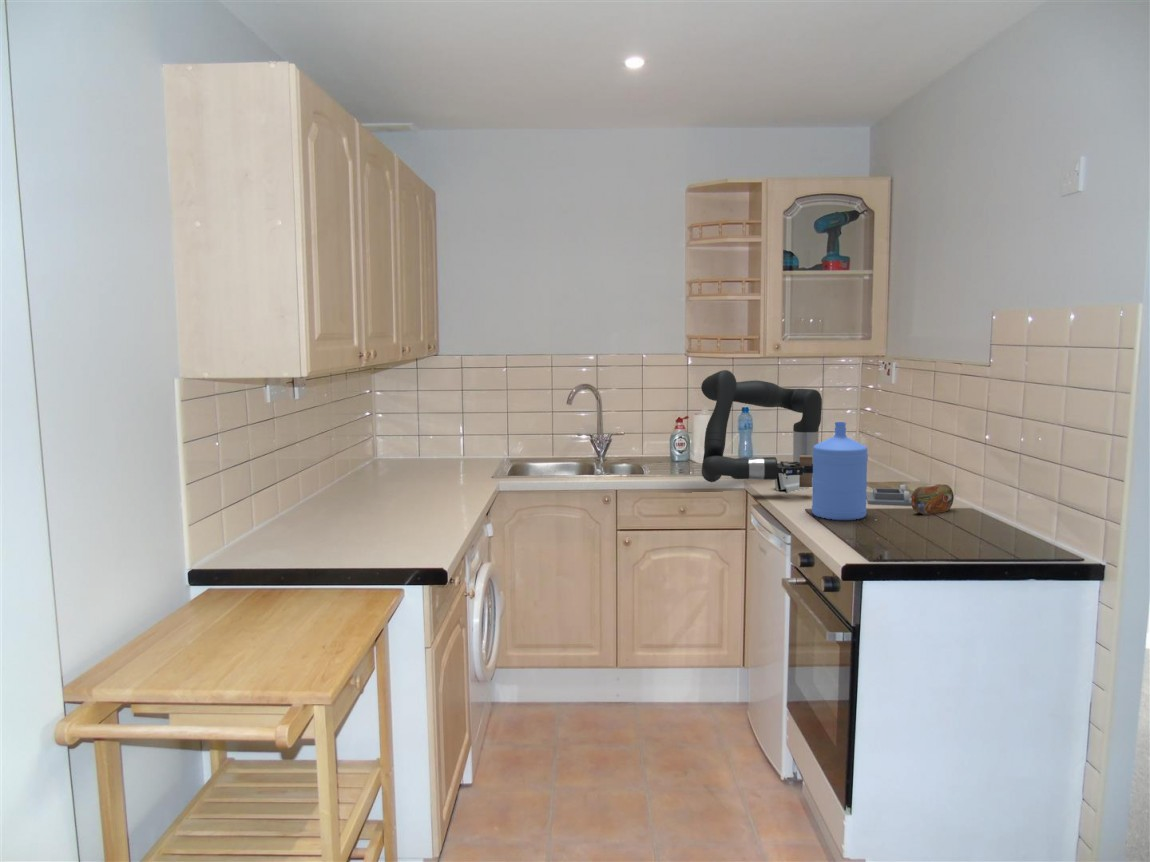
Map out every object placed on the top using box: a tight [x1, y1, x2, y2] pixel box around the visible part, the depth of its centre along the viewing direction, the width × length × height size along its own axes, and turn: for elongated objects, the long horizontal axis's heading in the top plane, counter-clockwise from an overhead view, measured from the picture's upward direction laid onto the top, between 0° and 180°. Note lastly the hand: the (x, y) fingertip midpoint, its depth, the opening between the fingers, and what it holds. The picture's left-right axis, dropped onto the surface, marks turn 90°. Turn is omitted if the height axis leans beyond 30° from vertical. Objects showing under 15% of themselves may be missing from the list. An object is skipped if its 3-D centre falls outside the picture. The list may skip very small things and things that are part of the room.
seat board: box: [866, 484, 912, 507], centre depth 261 cm, size 15×13×4 cm
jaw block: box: [799, 455, 813, 487], centre depth 268 cm, size 4×4×10 cm
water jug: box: [811, 421, 869, 521], centre depth 240 cm, size 16×16×28 cm
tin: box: [910, 483, 955, 516], centre depth 243 cm, size 15×3×8 cm, turn 114°
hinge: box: [773, 473, 810, 493], centre depth 284 cm, size 17×5×10 cm, turn 126°
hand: (814, 468), depth 267 cm, fingers closed on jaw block, 4 cm apart
